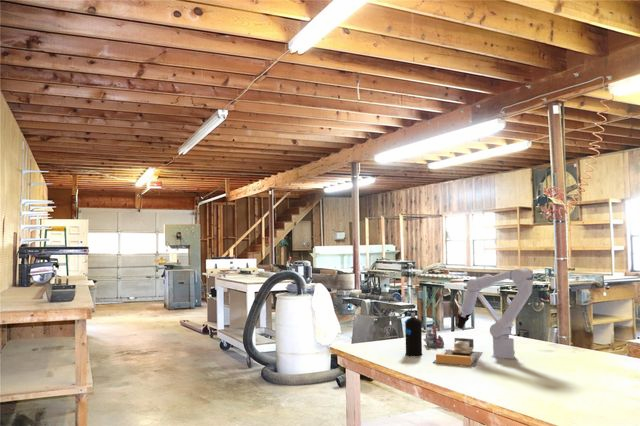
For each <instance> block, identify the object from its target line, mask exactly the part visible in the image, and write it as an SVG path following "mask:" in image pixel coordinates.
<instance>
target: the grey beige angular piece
mask: <svg viewBox="0 0 640 426" xmlns="http://www.w3.org/2000/svg"><path fill="white" fill-rule="evenodd" d="M474 343H475V342H474V338H466V337H465V338H462V337H454V343H453V344H454V346H452V348H451V349H450V350H451V352H452V354H455V353H454V352H456V353H467V355H468V356H469V355H470V353H471V352H472V351H473V350H474V348H475V347H474V346H475V345H474Z"/></svg>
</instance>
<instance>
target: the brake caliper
mask: <svg viewBox="0 0 640 426" xmlns="http://www.w3.org/2000/svg"><path fill="white" fill-rule="evenodd" d="M437 335H438V334H437V328H436V325H435V324H434V325H433V329H432V330H431V328H430V329H427V330H426V333H425V337H424V338H422V339H423V342H425V344H427V345H426V346H429V347H430V348H433V347H434V348H443V347H444V346H445V342H444V340H443V337H442V336H441V335H438V336H437Z"/></svg>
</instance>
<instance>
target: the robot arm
mask: <svg viewBox="0 0 640 426" xmlns="http://www.w3.org/2000/svg"><path fill="white" fill-rule="evenodd" d="M505 280H510V281H512V283H514V285H515V287H516V288H517V293H515V296H514V297H513V298H512V300H511V302H510V303H509V305H508V306H507V308H506V310H505V311H504V312H503V314H502V316H501V317H500V318H498V320H496V321H495V322H494V323H493V324H492V325H490V328H489V333H490V335H491V336H492V343H493V344H492V353H493V354H492V355H491V358H496V359H497V358H499V359H509V360H513V359H514V357H515V355H516V353H515V352H516V351H515V342H514V341H515V340H514V338H510V334H511V333H512V328H513V326H514V323H513V322H514V321H515V319H516V318H517V316H518V315H519V314H520V312H521V310H522V309H523V307H524V305H526V303H527V302H528V299H529V298H530V296H531V295H532V293H533V287H534V286H533V285H534V283H533V282H534V280H535V276H534V273H533V271H532V270H531V269H530V268H515V269H510V270H505V271H503V272H501V273H497V274H495V275H492V274H490V273H489V274H488V273H486V274H485V273H484V274H483V276H477V277H475V278H474V279H473V278H470V279H469V280H468V281H467V282H466V288H467V289H466V291H465V294H464V297H463V301H462V304H461V306H459V305H458V307H457V308H458V309H459V310H460V312H461V313H459V312H457V319H458V320H457V328H458V329H460V330H462V329H463V328H464V326H465V324H466V322H468V320H469V319H470V316H472V314H473V312H474V307H475V305H476V302H477V299H478V296H479V293H480V291H482V290H484V289H486V288H487V289H488V288H490V287H493V286H494V285H495V284H496V283H497V282H501V281H505Z"/></svg>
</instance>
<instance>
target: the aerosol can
mask: <svg viewBox="0 0 640 426" xmlns="http://www.w3.org/2000/svg"><path fill="white" fill-rule="evenodd" d="M422 323H423V322H422V321H421V320H420V319H419V318H417V317H416V312H411V313H410V317H408V318H407V319H406V320H405V321H404V324H405V327H404V328H405V330H404V331H405V356H407V357H412V356H414V357H421V356H424V355H423V347H422V345H423V343H422V342H423V341H422V339H423V338H422V337H423V335H422Z"/></svg>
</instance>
